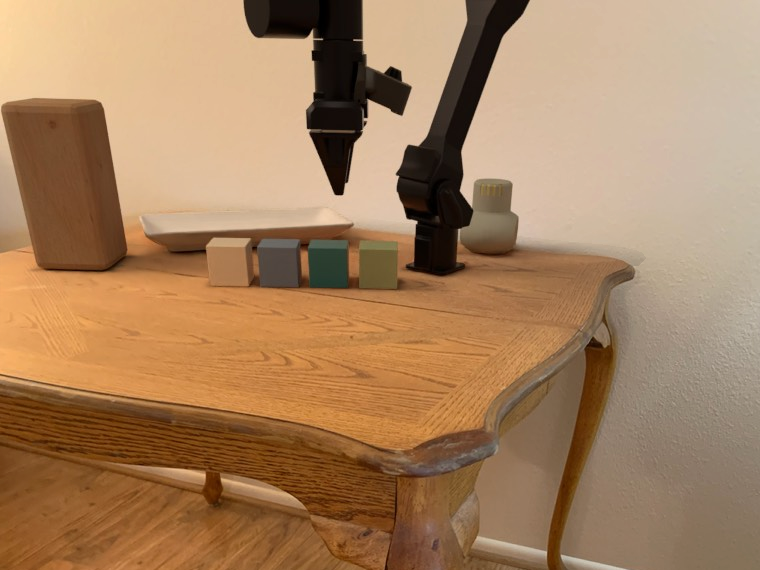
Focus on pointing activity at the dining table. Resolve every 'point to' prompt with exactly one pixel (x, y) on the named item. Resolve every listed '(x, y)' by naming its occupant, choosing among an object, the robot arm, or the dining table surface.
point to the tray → (242, 226)
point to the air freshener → (491, 218)
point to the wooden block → (66, 182)
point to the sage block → (378, 264)
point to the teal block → (328, 263)
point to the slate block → (279, 262)
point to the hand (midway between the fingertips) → (341, 188)
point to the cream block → (230, 261)
